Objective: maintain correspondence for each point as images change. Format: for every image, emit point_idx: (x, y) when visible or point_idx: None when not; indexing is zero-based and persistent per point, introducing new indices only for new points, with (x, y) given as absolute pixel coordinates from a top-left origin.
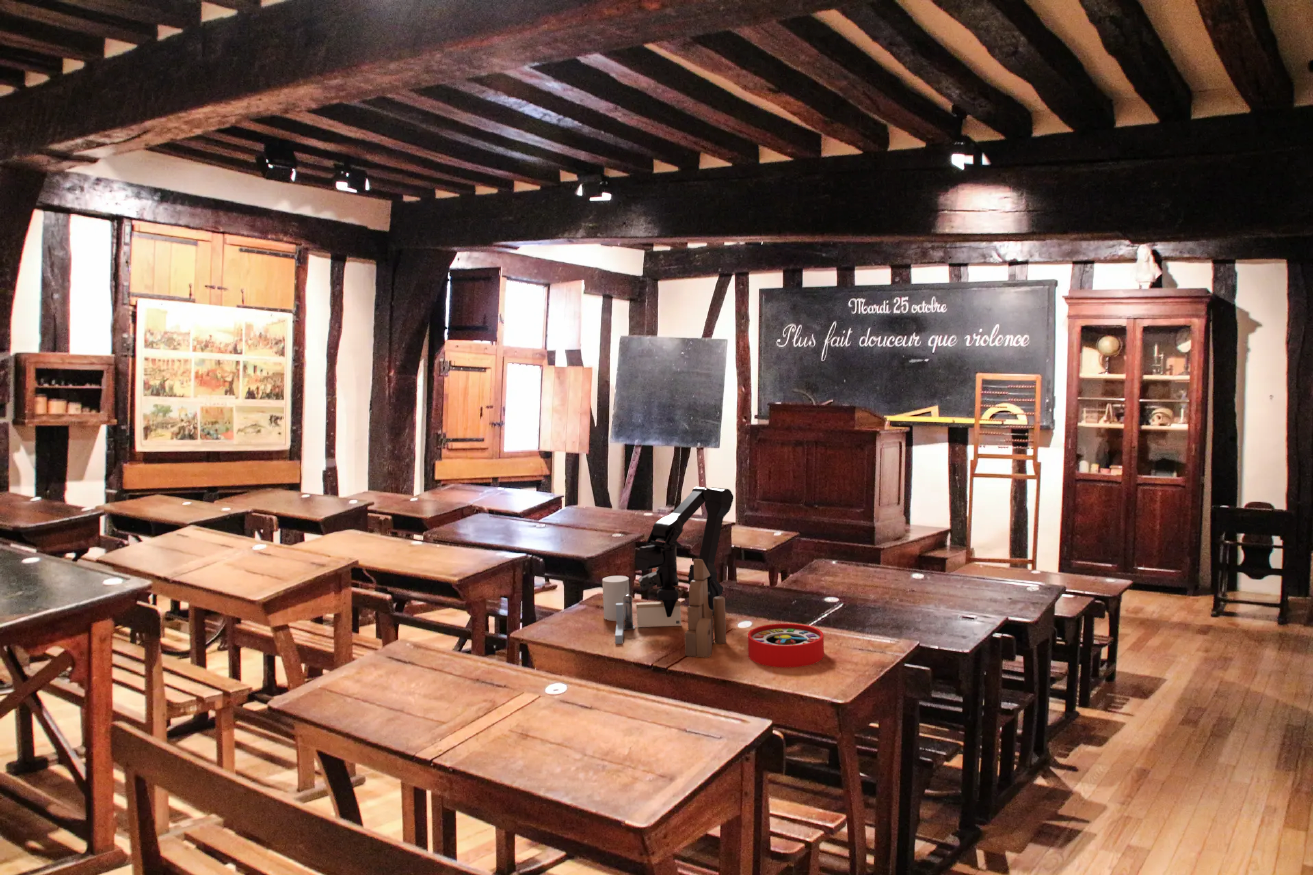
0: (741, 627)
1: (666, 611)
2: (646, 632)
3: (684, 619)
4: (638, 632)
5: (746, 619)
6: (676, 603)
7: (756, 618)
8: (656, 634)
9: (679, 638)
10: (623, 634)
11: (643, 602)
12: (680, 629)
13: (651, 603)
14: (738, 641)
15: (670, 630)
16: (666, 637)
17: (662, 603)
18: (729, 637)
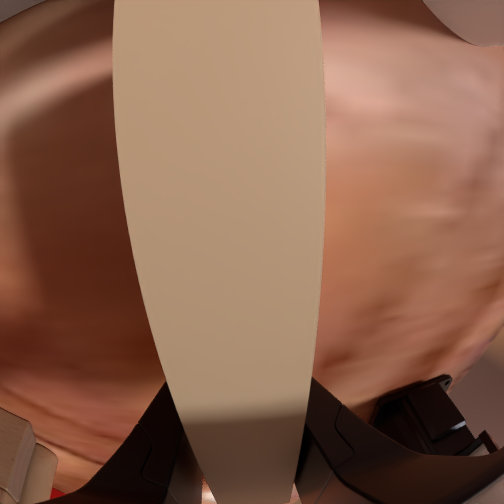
0: (207, 494)
1: (164, 390)
2: (67, 149)
3: (357, 359)
4: (70, 86)
5: (293, 491)
6: (215, 498)
7: (297, 499)
8: (34, 232)
9: (14, 354)
10: (34, 4)
11: (319, 62)
12: (156, 365)
13: (202, 277)
14: (69, 477)
15: (127, 315)
16: (4, 296)
17: (201, 433)
18: (95, 473)
